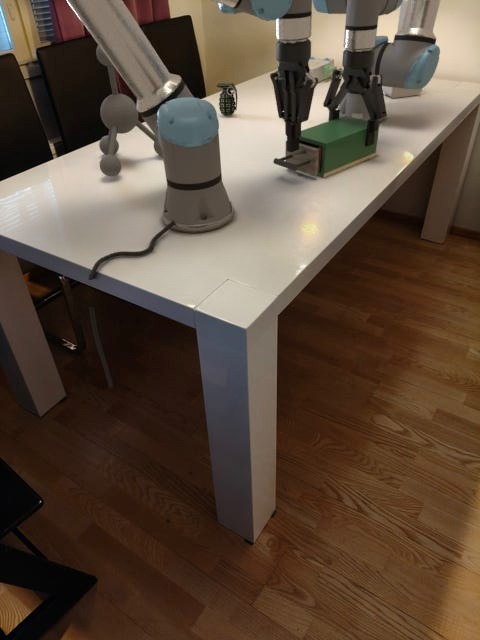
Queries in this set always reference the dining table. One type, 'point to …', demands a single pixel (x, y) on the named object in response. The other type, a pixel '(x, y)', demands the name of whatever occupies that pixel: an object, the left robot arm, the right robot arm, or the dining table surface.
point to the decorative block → (321, 68)
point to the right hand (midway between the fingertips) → (351, 140)
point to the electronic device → (394, 91)
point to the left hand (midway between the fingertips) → (293, 150)
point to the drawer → (303, 158)
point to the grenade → (227, 99)
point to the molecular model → (118, 121)
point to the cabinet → (340, 143)
